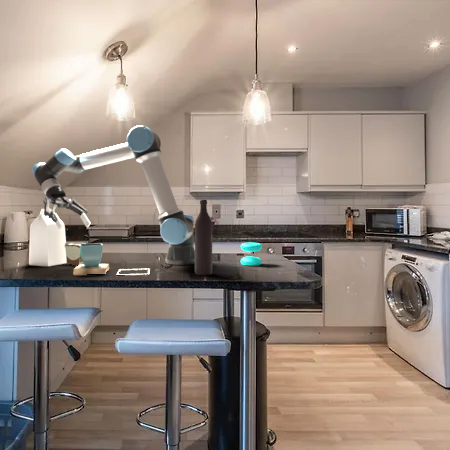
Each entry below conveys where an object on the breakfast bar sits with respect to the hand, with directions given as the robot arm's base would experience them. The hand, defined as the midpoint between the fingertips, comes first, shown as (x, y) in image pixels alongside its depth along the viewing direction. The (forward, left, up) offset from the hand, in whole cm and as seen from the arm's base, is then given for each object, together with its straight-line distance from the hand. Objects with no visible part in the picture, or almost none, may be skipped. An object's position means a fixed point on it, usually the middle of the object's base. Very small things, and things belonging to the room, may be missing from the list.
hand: (75, 226), depth 162 cm
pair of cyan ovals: (-78, -3, -19) cm, 80 cm away
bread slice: (-8, +7, -19) cm, 21 cm away
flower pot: (-7, +8, -16) cm, 19 cm away
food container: (+2, -17, -19) cm, 25 cm away
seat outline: (-25, +10, -19) cm, 33 cm away
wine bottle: (-53, +18, -19) cm, 59 cm away
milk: (+16, -20, -19) cm, 32 cm away
